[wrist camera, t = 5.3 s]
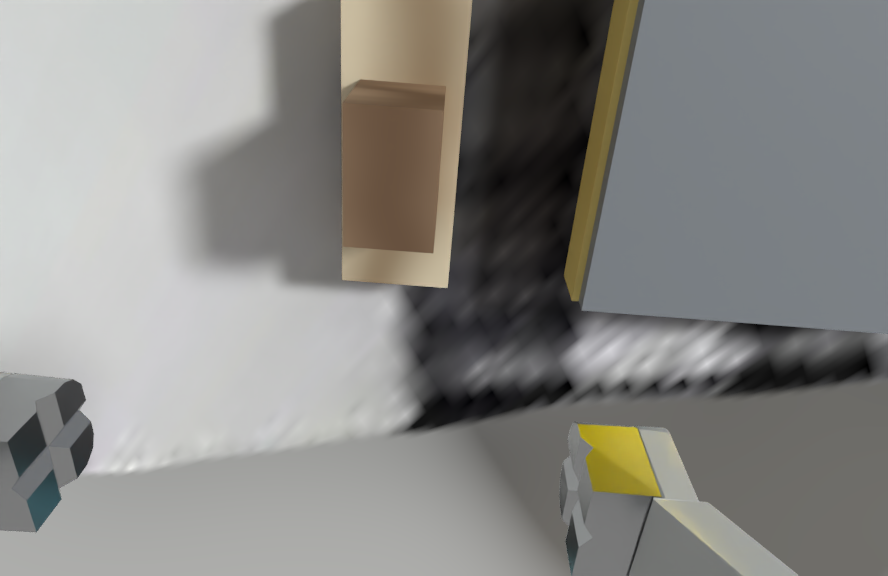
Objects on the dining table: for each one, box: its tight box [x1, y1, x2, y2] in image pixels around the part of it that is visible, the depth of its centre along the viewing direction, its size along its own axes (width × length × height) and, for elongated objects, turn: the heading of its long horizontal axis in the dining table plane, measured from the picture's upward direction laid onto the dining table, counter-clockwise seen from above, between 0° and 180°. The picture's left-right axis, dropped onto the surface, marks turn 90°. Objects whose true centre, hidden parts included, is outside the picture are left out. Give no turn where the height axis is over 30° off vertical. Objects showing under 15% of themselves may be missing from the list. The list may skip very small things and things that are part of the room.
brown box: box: [342, 79, 446, 253], centre depth 23 cm, size 3×5×4 cm, turn 176°
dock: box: [564, 0, 888, 334], centre depth 25 cm, size 16×14×4 cm
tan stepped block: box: [341, 0, 472, 288], centre depth 26 cm, size 5×12×3 cm, turn 176°
